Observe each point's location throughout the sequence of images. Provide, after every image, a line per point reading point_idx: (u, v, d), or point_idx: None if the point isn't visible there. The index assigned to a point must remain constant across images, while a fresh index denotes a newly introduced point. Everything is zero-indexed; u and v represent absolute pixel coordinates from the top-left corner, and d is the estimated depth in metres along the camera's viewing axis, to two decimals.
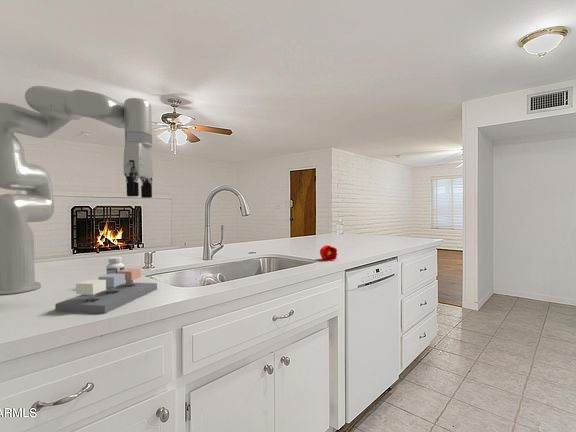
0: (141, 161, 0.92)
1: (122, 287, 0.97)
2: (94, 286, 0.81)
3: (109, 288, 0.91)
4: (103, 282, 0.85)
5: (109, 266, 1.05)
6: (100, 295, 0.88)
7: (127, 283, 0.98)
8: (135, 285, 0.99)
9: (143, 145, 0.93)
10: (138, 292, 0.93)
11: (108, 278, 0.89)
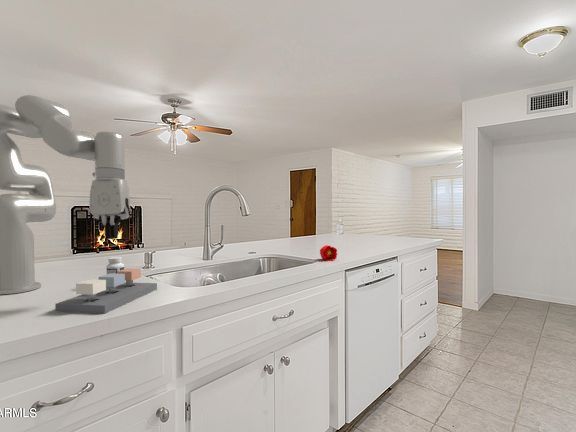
0: None
1: (122, 287, 0.97)
2: (94, 286, 0.81)
3: (109, 288, 0.91)
4: (103, 282, 0.85)
5: (109, 266, 1.05)
6: (100, 295, 0.88)
7: (127, 283, 0.98)
8: (135, 285, 0.99)
9: None
10: (138, 292, 0.93)
11: (108, 278, 0.89)
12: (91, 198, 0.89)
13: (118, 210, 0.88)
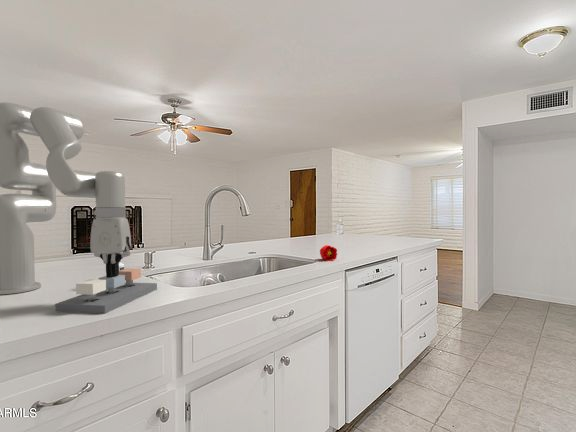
0: None
1: (122, 287, 0.97)
2: (94, 286, 0.81)
3: (109, 289, 0.91)
4: (103, 282, 0.85)
5: None
6: (100, 295, 0.88)
7: (127, 283, 0.98)
8: (135, 285, 0.99)
9: None
10: (138, 292, 0.93)
11: (108, 279, 0.89)
12: (92, 237, 0.89)
13: (119, 249, 0.88)
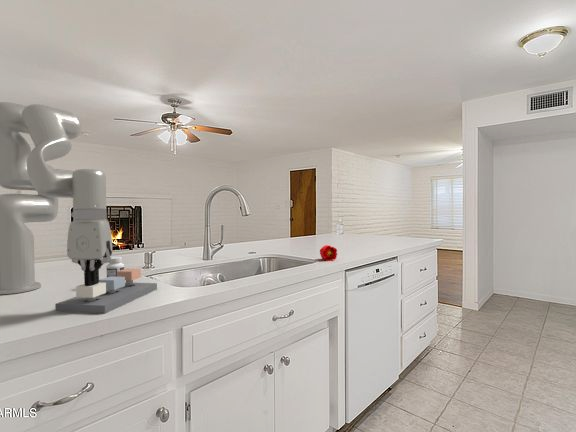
0: None
1: (122, 287, 0.97)
2: (94, 289, 0.81)
3: (109, 291, 0.91)
4: (103, 285, 0.85)
5: (109, 266, 1.05)
6: (100, 295, 0.88)
7: (127, 283, 0.98)
8: (135, 285, 0.99)
9: None
10: (138, 292, 0.93)
11: (108, 281, 0.89)
12: (69, 241, 0.81)
13: (98, 255, 0.80)
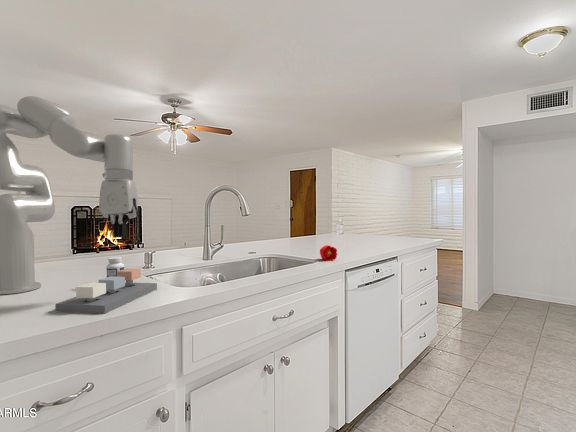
0: None
1: (122, 287, 0.97)
2: (94, 289, 0.81)
3: (109, 291, 0.91)
4: (103, 285, 0.85)
5: (109, 266, 1.05)
6: (100, 295, 0.88)
7: (127, 283, 0.98)
8: (135, 285, 0.99)
9: None
10: (138, 292, 0.93)
11: (108, 281, 0.89)
12: (101, 198, 0.93)
13: (126, 210, 0.91)
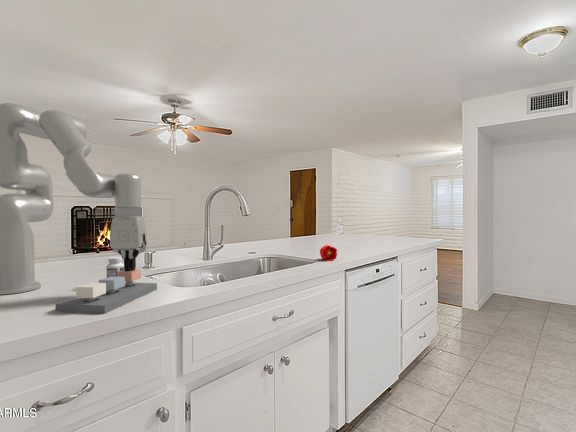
0: None
1: (122, 287, 0.97)
2: (94, 289, 0.81)
3: (109, 291, 0.91)
4: (103, 285, 0.85)
5: (109, 266, 1.05)
6: (100, 295, 0.88)
7: (127, 284, 0.98)
8: (135, 285, 0.99)
9: None
10: (138, 292, 0.93)
11: (108, 281, 0.89)
12: (111, 234, 0.97)
13: (136, 245, 0.96)
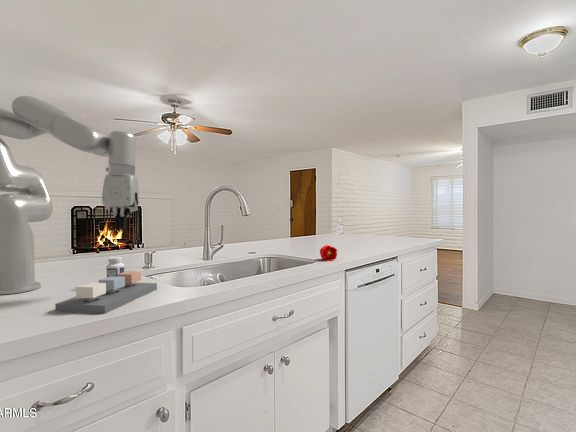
0: None
1: (122, 287, 0.97)
2: (94, 289, 0.81)
3: (109, 291, 0.91)
4: (103, 285, 0.85)
5: (109, 266, 1.05)
6: (100, 295, 0.88)
7: (127, 286, 0.98)
8: (135, 285, 0.99)
9: None
10: (138, 292, 0.93)
11: (108, 281, 0.89)
12: (104, 191, 0.97)
13: (128, 203, 0.96)
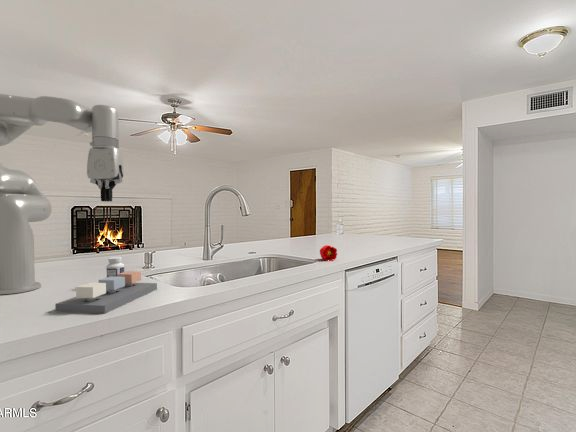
0: None
1: (122, 287, 0.97)
2: (94, 289, 0.81)
3: (109, 291, 0.91)
4: (103, 285, 0.85)
5: (109, 266, 1.05)
6: (100, 295, 0.88)
7: (127, 286, 0.98)
8: (135, 285, 0.99)
9: None
10: (138, 292, 0.93)
11: (108, 281, 0.89)
12: (88, 164, 1.00)
13: (112, 175, 0.99)
